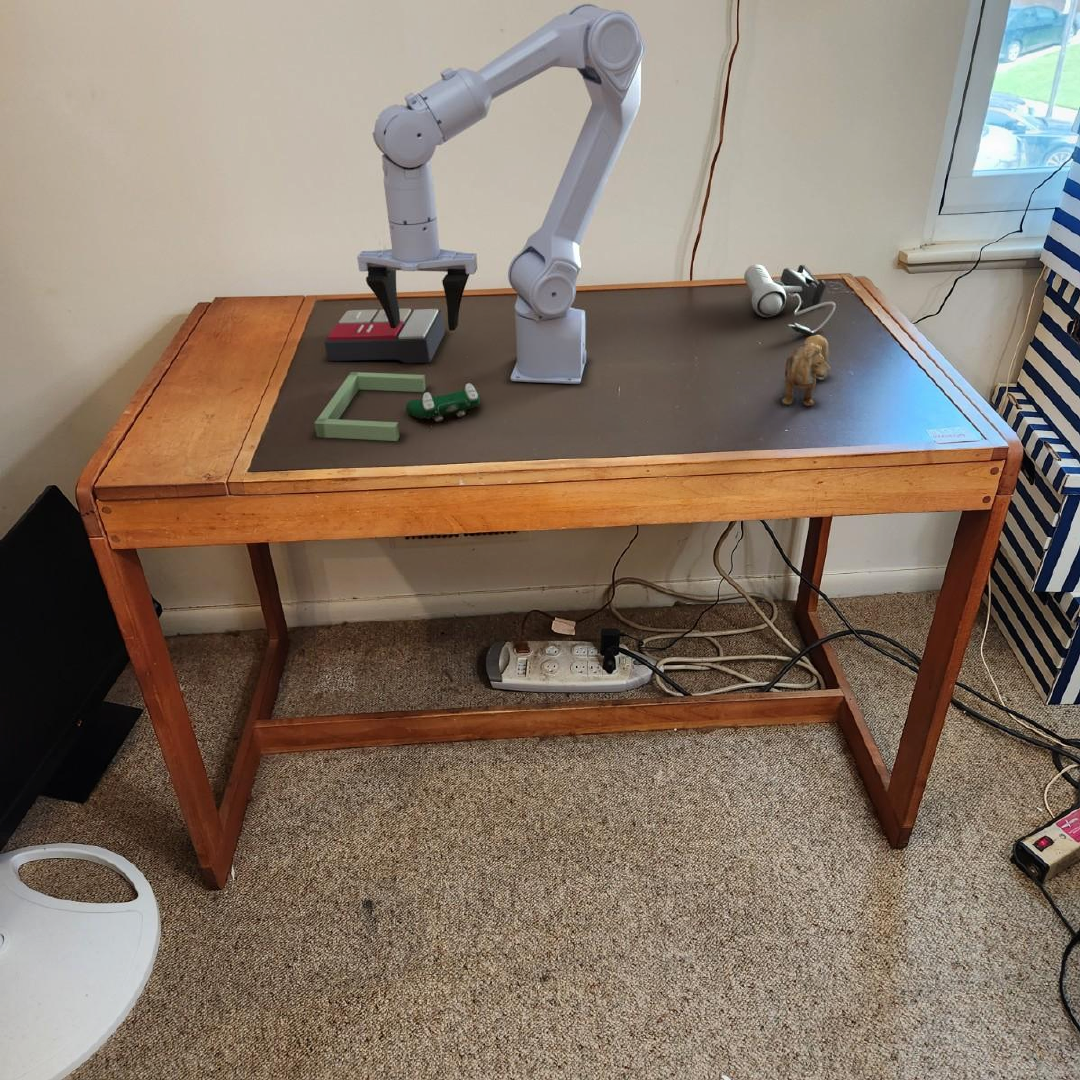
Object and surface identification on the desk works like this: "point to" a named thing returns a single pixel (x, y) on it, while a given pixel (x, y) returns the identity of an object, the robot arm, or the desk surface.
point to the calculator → (386, 336)
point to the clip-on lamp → (773, 297)
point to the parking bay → (365, 430)
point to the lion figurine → (806, 368)
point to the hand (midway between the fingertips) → (424, 326)
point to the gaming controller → (444, 404)
